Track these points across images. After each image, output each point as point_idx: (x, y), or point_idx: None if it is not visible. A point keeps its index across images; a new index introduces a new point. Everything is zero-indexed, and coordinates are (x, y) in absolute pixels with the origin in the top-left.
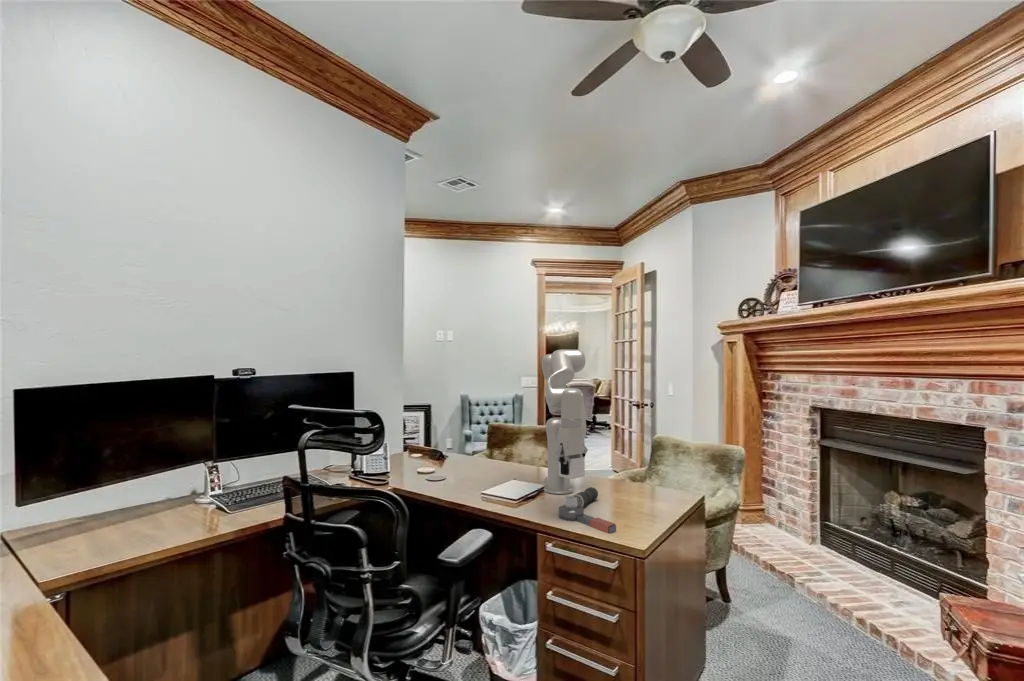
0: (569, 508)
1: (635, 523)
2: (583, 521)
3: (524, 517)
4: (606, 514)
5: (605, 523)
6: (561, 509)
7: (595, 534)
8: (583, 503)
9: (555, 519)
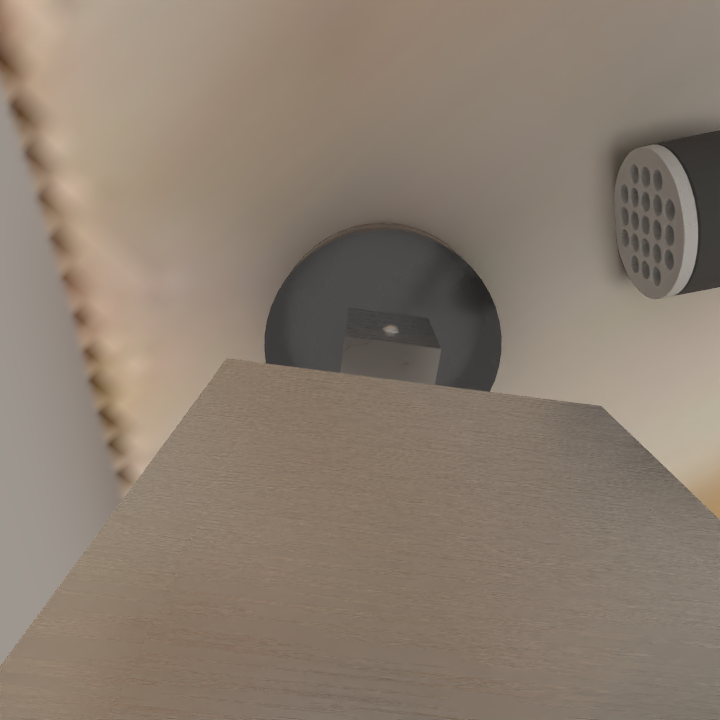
0: (340, 364)
1: None
2: None
3: (43, 32)
4: None
5: None
6: (292, 303)
7: None
8: (649, 295)
9: (231, 278)
